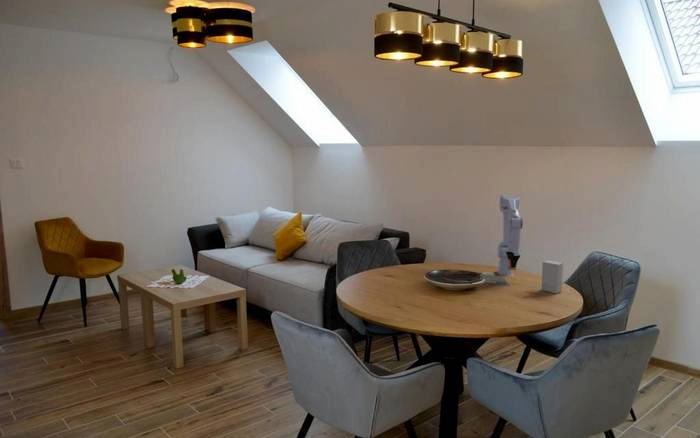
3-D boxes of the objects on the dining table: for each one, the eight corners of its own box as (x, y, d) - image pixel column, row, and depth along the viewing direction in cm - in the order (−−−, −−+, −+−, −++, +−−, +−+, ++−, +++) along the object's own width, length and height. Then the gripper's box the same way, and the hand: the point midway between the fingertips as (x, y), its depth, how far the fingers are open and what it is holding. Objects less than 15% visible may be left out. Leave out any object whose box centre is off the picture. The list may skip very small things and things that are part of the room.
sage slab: (481, 275, 281) (481, 271, 280) (492, 276, 280) (493, 272, 280) (483, 278, 275) (483, 274, 274) (495, 279, 274) (495, 275, 274)
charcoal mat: (466, 277, 287) (466, 276, 286) (504, 279, 285) (504, 278, 285) (470, 285, 271) (470, 284, 271) (510, 287, 269) (510, 286, 269)
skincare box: (561, 292, 264) (564, 262, 262) (556, 294, 260) (558, 264, 258) (545, 288, 270) (548, 259, 268) (539, 290, 266) (542, 261, 264)
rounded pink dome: (506, 268, 280) (507, 258, 279) (515, 268, 280) (515, 259, 279) (508, 270, 276) (509, 260, 275) (517, 270, 275) (518, 261, 275)
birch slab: (479, 279, 282) (480, 275, 281) (493, 279, 281) (493, 276, 281) (482, 282, 275) (482, 278, 274) (495, 283, 274) (496, 279, 274)
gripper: (525, 243, 268) (523, 270, 270) (518, 238, 282) (516, 263, 284) (511, 243, 269) (509, 269, 271) (504, 238, 283) (502, 263, 285)
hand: (511, 266), depth 278 cm, fingers closed on rounded pink dome, 4 cm apart
